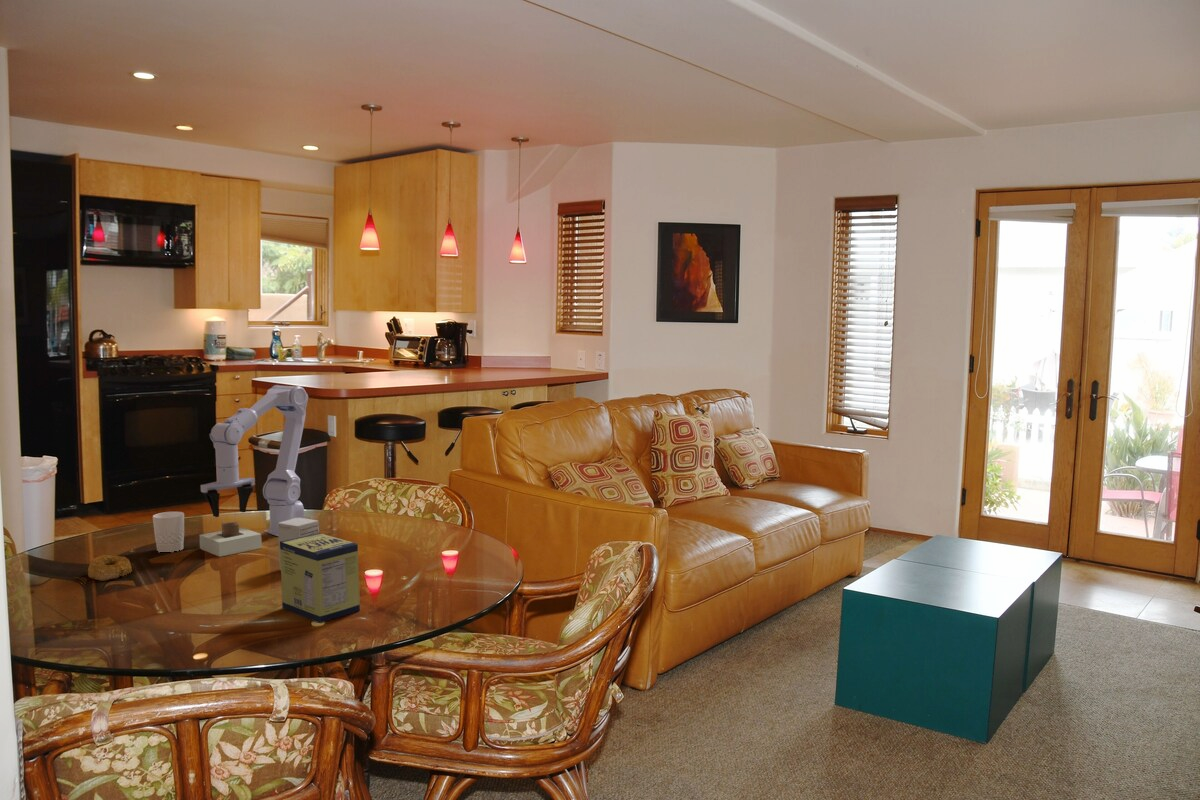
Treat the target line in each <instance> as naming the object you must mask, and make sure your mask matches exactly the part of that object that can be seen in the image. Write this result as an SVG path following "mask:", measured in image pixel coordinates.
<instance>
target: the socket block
mask: <svg viewBox="0 0 1200 800" xmlns="http://www.w3.org/2000/svg"><path fill="white" fill-rule="evenodd" d="M262 543H263V542H262V533H259V532H256V531H253V530H251V529H247V528H245V527H242V526H239V536H233V537H228V538H224V537H222V530H218V531H214V532H208V533H202V534H199V549H200V550H202V551H205V552H207V553H210V554H211V555H214V556H217V557H219V558H221V557H225V556H230V555H235V554H241V553H245V552H249V551H254V550H259V549H262V548H263V546H262V545H263V544H262Z"/></svg>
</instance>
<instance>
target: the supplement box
mask: <svg viewBox="0 0 1200 800" xmlns="http://www.w3.org/2000/svg"><path fill="white" fill-rule="evenodd" d="M319 525H320V522H319V520H316V519H310V518H305V517H304V518H299V517H298V518H293V519H290V520H287V521H283V522H280V523H278V533H279V536H278V560H279V561H278V562H279V563H278V565H279V571H281V558H280V541H285V540H290V539H295V538H299V537H304V536H308V535H313V534H317V533H320V528H319V527H320V526H319Z"/></svg>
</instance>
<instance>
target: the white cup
mask: <svg viewBox="0 0 1200 800" xmlns="http://www.w3.org/2000/svg"><path fill="white" fill-rule="evenodd" d="M152 523H153V531H154V539H155V544H156V551H158V552H157V553H160V552H171V553H175V552H174V551H177V552H179V550H180V551H182V550H183V549H184V540H185V513H184V511H183V512H182V511H165V512H159V513H155V514H153V515H152Z"/></svg>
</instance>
